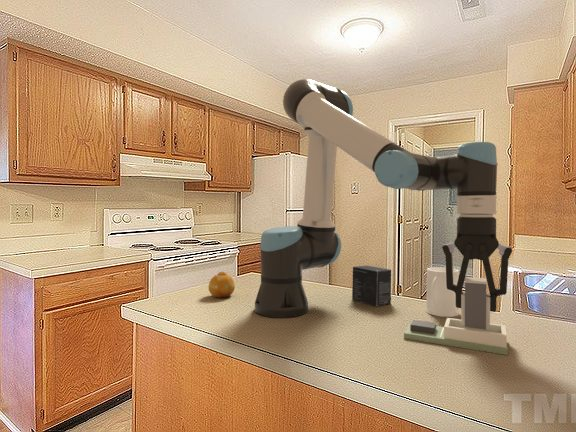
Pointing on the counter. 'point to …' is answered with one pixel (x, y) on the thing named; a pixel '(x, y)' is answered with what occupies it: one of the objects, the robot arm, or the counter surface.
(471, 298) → the plug
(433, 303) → the white upright cylinder
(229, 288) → the fruit
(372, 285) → the box
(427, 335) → the board
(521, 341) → the counter surface
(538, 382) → the counter surface
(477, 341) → the tray
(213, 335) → the counter surface
